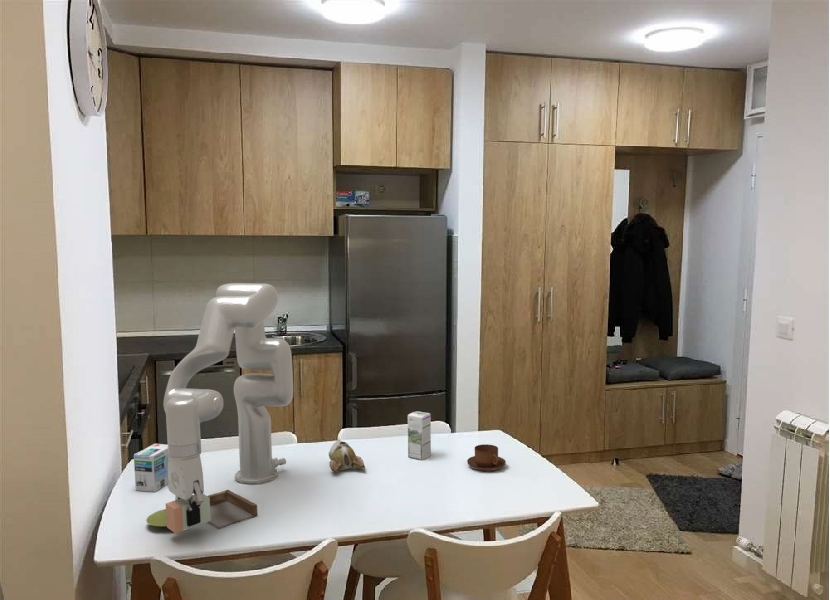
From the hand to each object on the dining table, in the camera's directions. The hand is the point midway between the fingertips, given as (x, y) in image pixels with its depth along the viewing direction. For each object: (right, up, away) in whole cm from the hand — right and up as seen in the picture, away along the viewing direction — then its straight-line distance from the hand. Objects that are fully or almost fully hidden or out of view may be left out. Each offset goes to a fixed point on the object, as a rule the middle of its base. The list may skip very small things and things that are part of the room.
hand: (188, 520), depth 159 cm
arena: (+5, -2, +12) cm, 14 cm away
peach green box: (0, -1, 0) cm, 1 cm away
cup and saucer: (+77, +1, +46) cm, 90 cm away
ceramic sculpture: (+33, +1, +46) cm, 57 cm away
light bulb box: (-21, -1, +34) cm, 40 cm away
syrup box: (+57, +2, +56) cm, 80 cm away
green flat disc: (-7, -3, +7) cm, 10 cm away
